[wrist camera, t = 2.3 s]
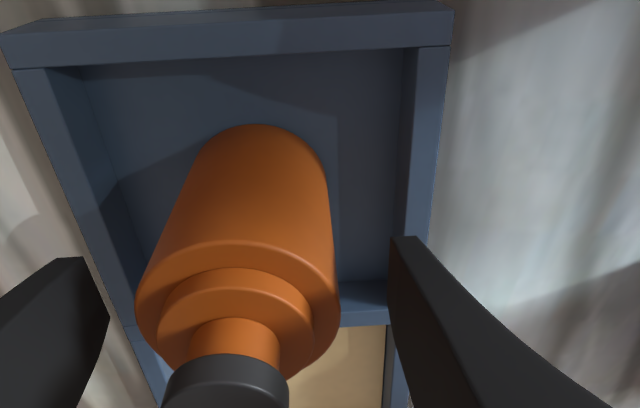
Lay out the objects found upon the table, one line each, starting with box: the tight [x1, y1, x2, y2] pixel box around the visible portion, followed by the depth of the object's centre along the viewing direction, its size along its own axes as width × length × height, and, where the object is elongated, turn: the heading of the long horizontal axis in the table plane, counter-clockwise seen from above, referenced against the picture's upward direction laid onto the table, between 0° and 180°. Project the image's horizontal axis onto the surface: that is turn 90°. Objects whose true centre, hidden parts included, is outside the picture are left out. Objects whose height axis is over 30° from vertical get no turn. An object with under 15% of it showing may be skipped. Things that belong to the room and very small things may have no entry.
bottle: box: [134, 124, 341, 408], centre depth 11 cm, size 4×4×8 cm
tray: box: [0, 0, 455, 408], centre depth 16 cm, size 20×11×2 cm, turn 3°
